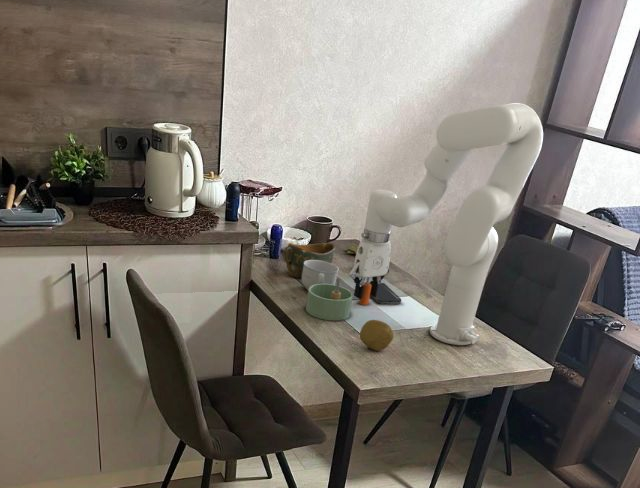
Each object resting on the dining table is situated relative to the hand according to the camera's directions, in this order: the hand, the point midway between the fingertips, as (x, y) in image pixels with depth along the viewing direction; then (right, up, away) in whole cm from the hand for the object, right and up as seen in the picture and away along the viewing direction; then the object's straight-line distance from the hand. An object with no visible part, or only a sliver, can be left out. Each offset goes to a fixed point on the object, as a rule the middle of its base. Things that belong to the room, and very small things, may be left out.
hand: (364, 295), depth 217 cm
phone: (+6, +2, +9) cm, 11 cm away
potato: (-1, -20, -25) cm, 33 cm away
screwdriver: (0, -2, +1) cm, 2 cm away
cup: (-17, +11, +18) cm, 27 cm away
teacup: (-14, +2, +5) cm, 15 cm away
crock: (-12, -6, -8) cm, 15 cm away
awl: (-10, -7, -10) cm, 16 cm away
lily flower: (+3, +25, +42) cm, 49 cm away
